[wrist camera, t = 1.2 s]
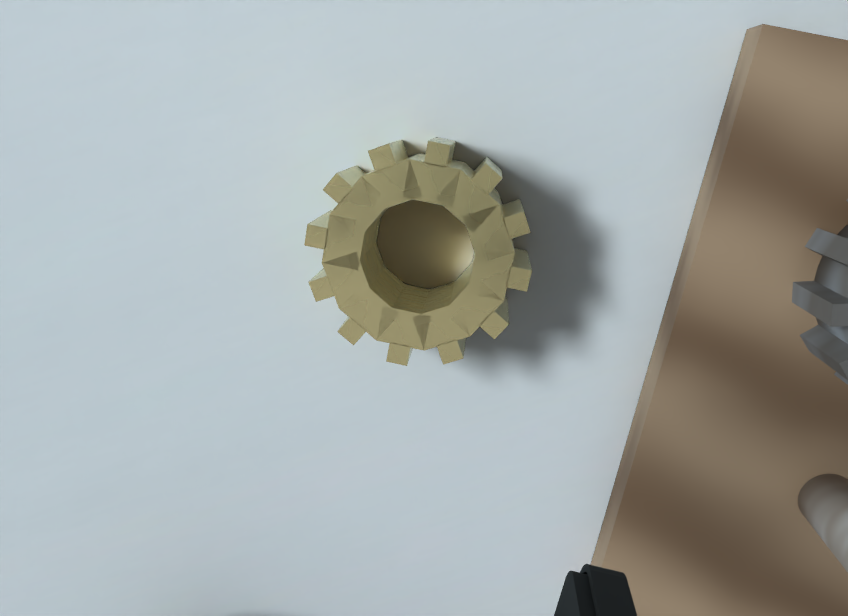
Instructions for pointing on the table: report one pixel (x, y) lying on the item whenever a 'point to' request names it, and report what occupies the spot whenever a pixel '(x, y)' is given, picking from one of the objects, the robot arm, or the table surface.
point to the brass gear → (381, 290)
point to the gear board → (750, 363)
